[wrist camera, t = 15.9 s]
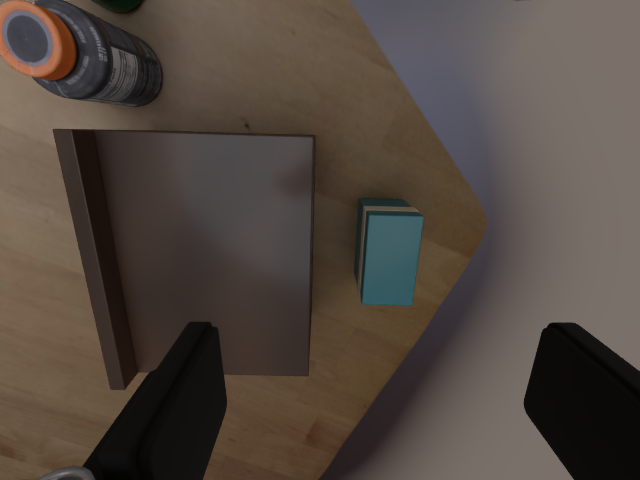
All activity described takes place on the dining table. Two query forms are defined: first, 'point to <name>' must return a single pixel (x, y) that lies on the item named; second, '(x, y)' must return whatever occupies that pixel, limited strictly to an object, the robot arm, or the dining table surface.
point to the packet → (387, 251)
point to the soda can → (118, 5)
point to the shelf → (194, 243)
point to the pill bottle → (77, 53)
